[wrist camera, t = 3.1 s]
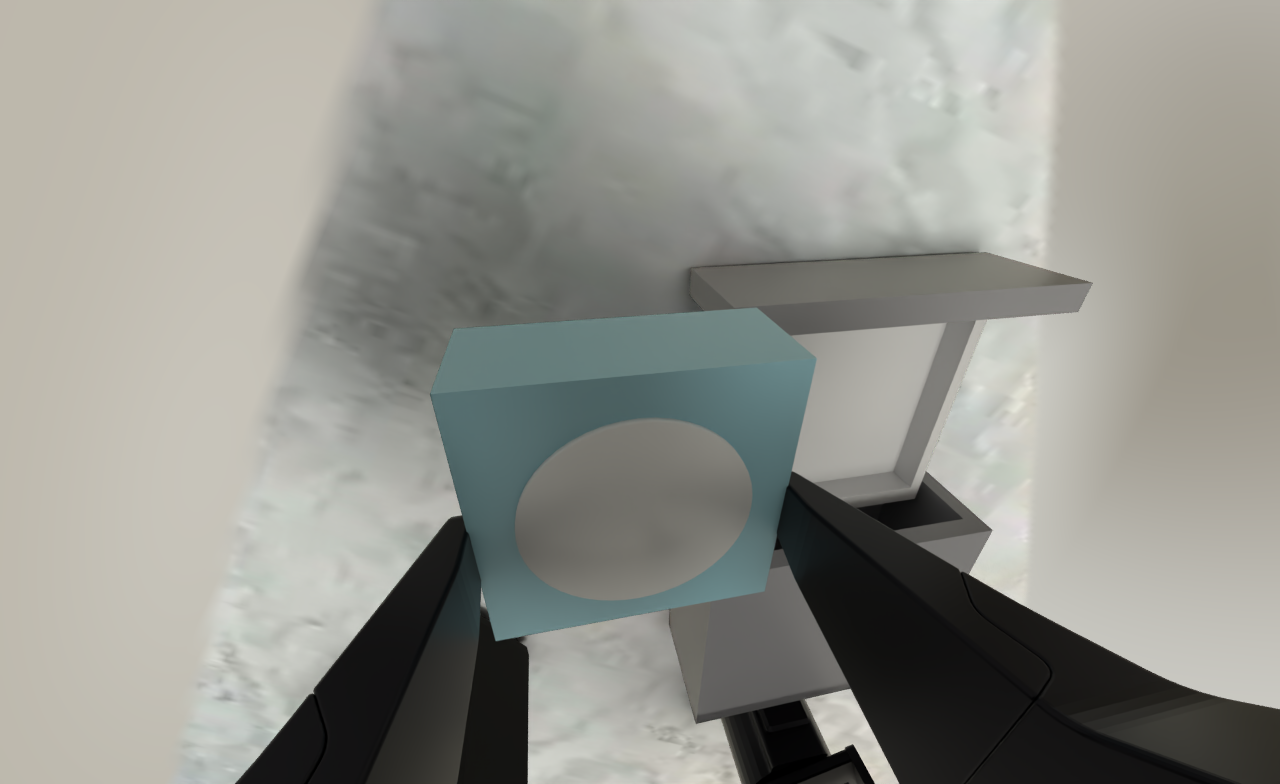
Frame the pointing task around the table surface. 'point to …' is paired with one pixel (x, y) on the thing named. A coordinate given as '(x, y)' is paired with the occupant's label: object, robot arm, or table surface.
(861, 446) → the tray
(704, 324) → the block
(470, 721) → the electronic device
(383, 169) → the table surface
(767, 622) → the grey drawer box
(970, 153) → the table surface
